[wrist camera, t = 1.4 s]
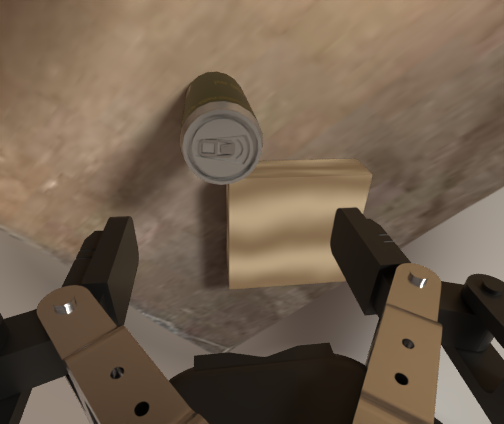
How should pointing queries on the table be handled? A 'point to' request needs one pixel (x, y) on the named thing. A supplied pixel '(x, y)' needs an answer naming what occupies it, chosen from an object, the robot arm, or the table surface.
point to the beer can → (219, 130)
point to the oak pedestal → (289, 220)
